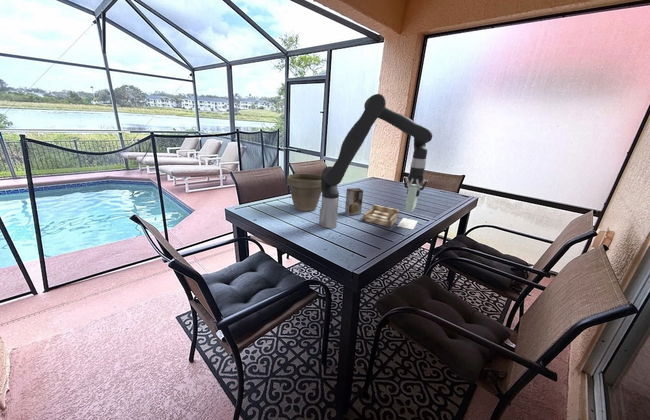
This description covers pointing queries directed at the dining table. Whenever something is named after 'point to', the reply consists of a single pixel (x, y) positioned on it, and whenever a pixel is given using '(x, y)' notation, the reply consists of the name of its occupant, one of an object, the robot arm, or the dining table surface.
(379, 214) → the back offcut
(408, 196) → the pale green upright slab
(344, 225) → the dining table surface
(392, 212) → the rack
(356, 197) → the coffee box
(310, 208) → the plant pot
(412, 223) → the white flat rectangle
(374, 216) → the front offcut
